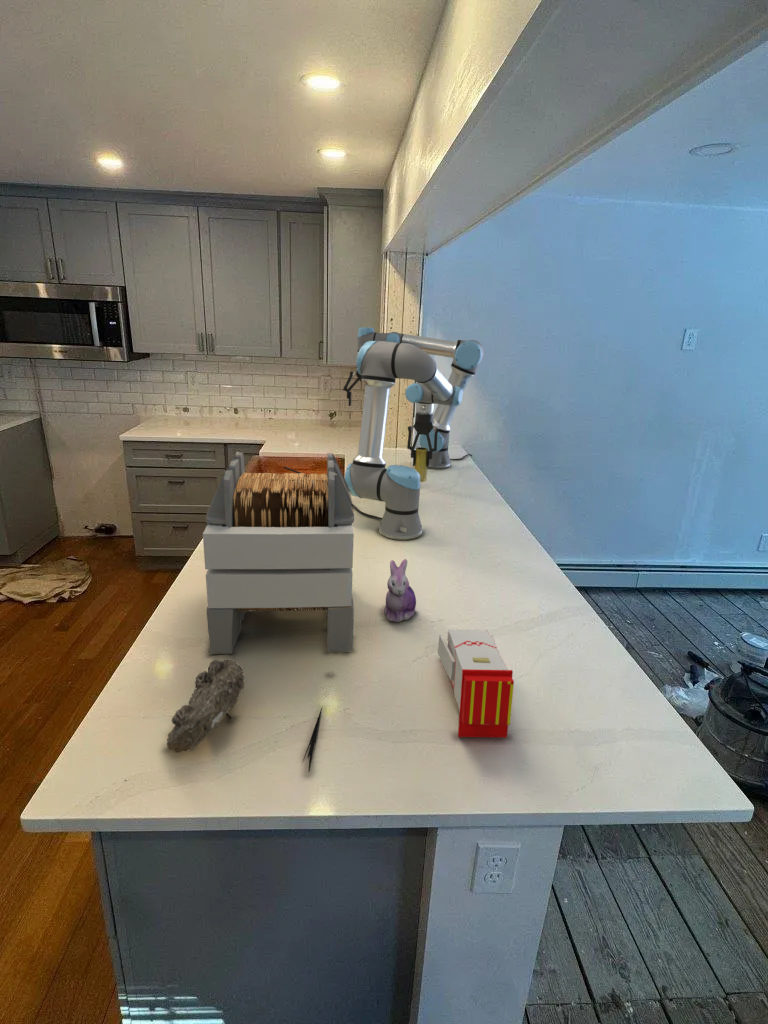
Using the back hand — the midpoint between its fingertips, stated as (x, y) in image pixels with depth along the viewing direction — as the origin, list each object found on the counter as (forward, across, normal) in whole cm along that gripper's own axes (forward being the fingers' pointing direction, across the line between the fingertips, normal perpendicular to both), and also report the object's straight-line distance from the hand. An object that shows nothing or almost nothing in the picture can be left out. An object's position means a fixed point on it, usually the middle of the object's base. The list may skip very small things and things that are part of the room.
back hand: (363, 406), depth 276 cm
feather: (+29, +24, -187) cm, 191 cm away
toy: (+29, +52, -173) cm, 183 cm away
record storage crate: (+29, +6, -152) cm, 154 cm away
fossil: (+29, +4, -190) cm, 192 cm away
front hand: (+19, +32, -32) cm, 49 cm away
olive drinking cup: (+25, +32, -32) cm, 52 cm away
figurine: (+29, +35, -144) cm, 151 cm away
